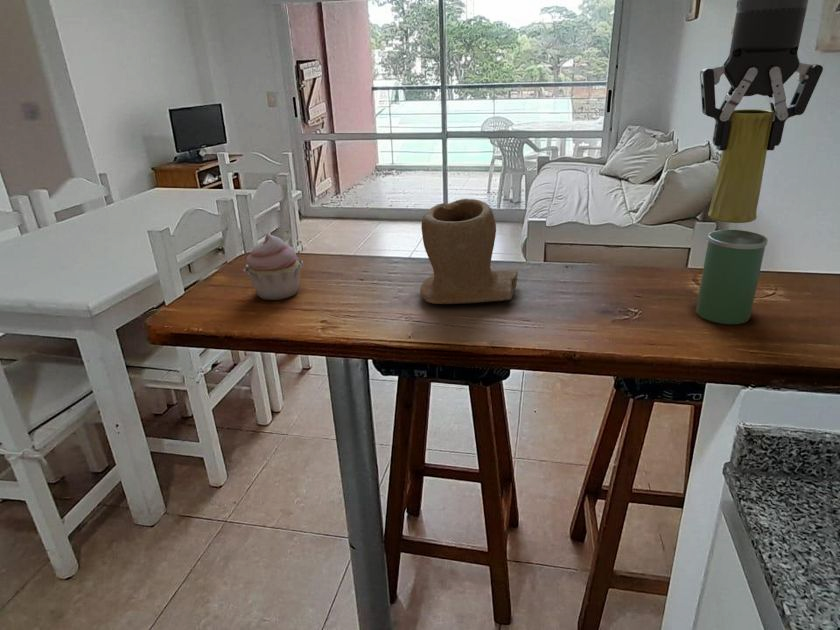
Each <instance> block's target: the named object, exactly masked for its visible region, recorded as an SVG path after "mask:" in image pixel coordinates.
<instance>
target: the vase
mask: <svg viewBox="0 0 840 630" xmlns="http://www.w3.org/2000/svg"><path fill="white" fill-rule="evenodd" d="M773 116H774V111H772V110H771V109H757V108H755V109H751V108H749V109H748V108H745V109H743V108H742V109H734V111H733V113H732V115H731V116H730V118H729V119H728V121H729V122H730V126H729V132H728V138H727V144H726V149H725V150H723V151H721V154H720V161H719V170H718V173H717V177H716V181H715V185H714V189H713V193H712V198H711V201H710V205H709V209H708V211H707V216H708V217H709V219H712V220H714V221H717V222H721V223H722V222H723V223H731V224H745V223H747V224H748V223H751V222H754V221H756V220H757V217H758V216H757V209H758V206H759V201H760V194H761V188H762V182H763V176H764V170H765V166H766V160H767V159H766V158H767V153H768V150H767V147H768V141H769V136H770V131H771V126H772V121H773Z"/></svg>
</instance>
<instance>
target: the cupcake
mask: <svg viewBox="0 0 840 630" xmlns="http://www.w3.org/2000/svg"><path fill="white" fill-rule="evenodd" d="M303 263H304V260H303V259H299V257H297V253H296V251H295V250H294V249H293V246H290V245H288V244H286V243H285V242H284V240H283V239H282V238H280V237H278V236H275V235H272V234H269V233H266V234H265V236H264V240H262V241H260V242H259V243H257V244H255V246H254V247H253V248H252V249H251V253H250V254H248V255H247V257H246V264H245V268H244V269H243V272H244V273H245V275H246V276H247V277H248V278H249V279H250V281H251V283H252V285H253V287H254V289H255V291H256V294H257V296H258V298H260V299H262V300H266V301H277V300H278V301H279V300H280V301H281V300H285V299H288V298H290V297H293V296H295V295H296V294H297V293H298V291H299V288H300V276H301V269H302V266H303Z"/></svg>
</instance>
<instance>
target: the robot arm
mask: <svg viewBox="0 0 840 630" xmlns="http://www.w3.org/2000/svg"><path fill="white" fill-rule="evenodd" d="M808 4H809V0H737V1H736V5H735V6H736V7H735V8H736V12H735V19H734V23H733V28H732V29H733V31H732V36H731V42H730V48H729V53H728V56H727V58H726V60H725V62H724V63H723V65H719V66H715V67H711V68H709V67H704V68H702V69H701V70H700V71H699V81H700V93H701V94H700V95H701V96H700V97H701V111H702V114H703V115H705V116H707V117H709V118H712V119H714V121H715V124H714V130H713V134H712V135H713V136H712V144H713V146H715V147H716V150H718V151H721V152H722V151H723V150H725V149H726V144H727V138H728V132H729V126H730V122H729V121H728V119H729V118H730V116H731V115H732V113H733V111H734V110H736V107H738V106H739V104H740V103H741V102H742V100H743V97H752V96H755V95H759V96H764V97H766V99H767V102H768V104H769V108H770V109H769V110H772V111H774V116H773V121H772V126H771V131H770V136H769V141H768V147H767V151H774V150H775V147H778V146H779V145H780V144H781V143H782V139H783V133H784V130H785V123H786V122H787V120H789V118H792V117H795V116H802V115H803V114H804V113H805V112H806V110H807V107H808V105H809V102H810V101H811V98H812V95H813V93H814V91H815V89H816V87H817V84H818V82H819V80H820V78H821V76H822V73H823V71H824V67H823V66H822V65H821V64H816V63H811V64H809V63H802V62H800V59H799V56H798V50H799V47H800V43H801V38H802V33H803V27H804V24H805V18H806V16H807V15H806V14H807V9H808ZM795 73H797V75H796V80H797V81H798V82H799V83H798V84H797V87H796V89H795V92H794V94H793V96H792V98H791V101H790V103H789V105H787V96H786V91H785V86H784V84H786V82H787V81H788V80H790V79H791V77H792V76H793V75H794V74H795ZM722 75H724V76H725V78H726V79H727V81H728V83H729V84H730V87H729V88H728V91H727V92H726V94H725V95H724V98H723V101H722V102H721V104H720V106H719V108H717V106H716V104H717V103H716V87H715V85H716V86H717V85H718V84H719V83H720V80H721V77H722Z"/></svg>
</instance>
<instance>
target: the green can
mask: <svg viewBox="0 0 840 630" xmlns="http://www.w3.org/2000/svg"><path fill="white" fill-rule="evenodd" d="M767 245H768V238H767V237H766V236H765V235H762V234H760V233H757V232H753V231H749V230H741V229H719V230H714V231H711V232H709V233H708V236H707V246H706V252H705V257H704V262H703V263H704V264H703V267H702V268H703V269H702V275H701V279H700V286H699V290H698V291H699V292H698V297H697V302H696V309H695V312H696V314H697V315H698V316H699V317H700V318H702V319H704V320H707V321H709V322H712V323H717V324H723V325H741V324H744V323H745V324H746V323H747V322H748V321H750V319H751V314H752V310H753V305H754V301H755V297H756V291H757V287H758V283H759V277H760V272H761V269H762V264H763V259H764V256H765V250H766V247H767Z"/></svg>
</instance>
